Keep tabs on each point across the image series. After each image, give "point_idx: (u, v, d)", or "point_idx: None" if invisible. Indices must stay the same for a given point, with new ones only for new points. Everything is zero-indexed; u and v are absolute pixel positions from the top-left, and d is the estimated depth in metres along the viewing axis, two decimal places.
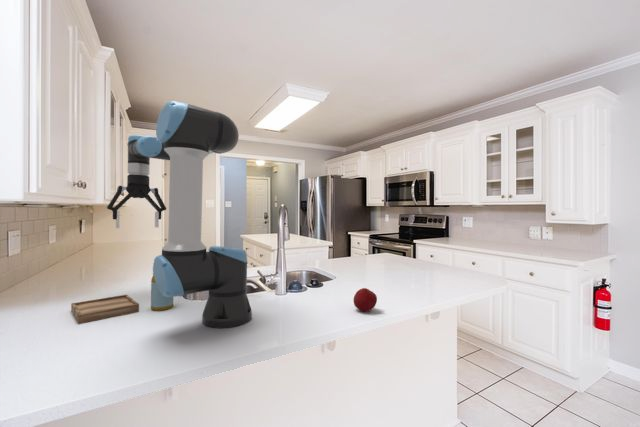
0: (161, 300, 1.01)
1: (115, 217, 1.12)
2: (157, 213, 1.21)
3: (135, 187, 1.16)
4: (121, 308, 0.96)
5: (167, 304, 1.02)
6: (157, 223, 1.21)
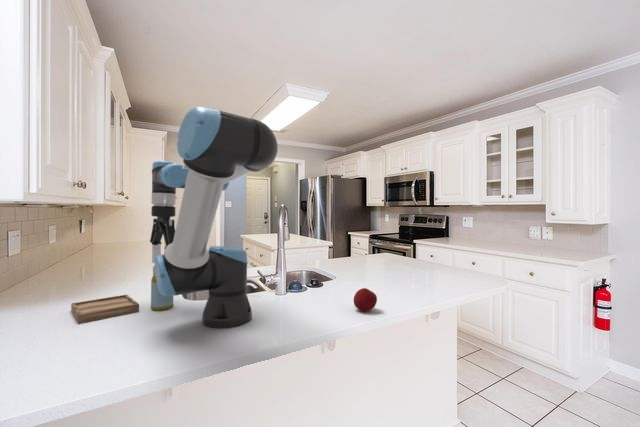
0: (161, 300, 1.01)
1: None
2: None
3: (159, 219, 1.04)
4: (121, 308, 0.96)
5: (167, 304, 1.02)
6: None
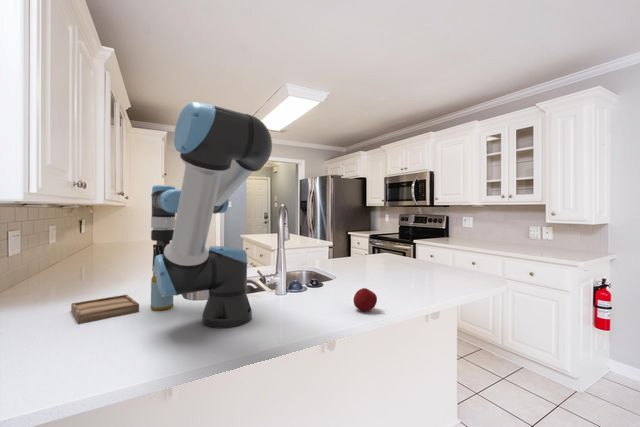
0: (161, 300, 1.01)
1: None
2: None
3: (158, 241, 1.04)
4: (121, 308, 0.96)
5: (167, 304, 1.02)
6: None
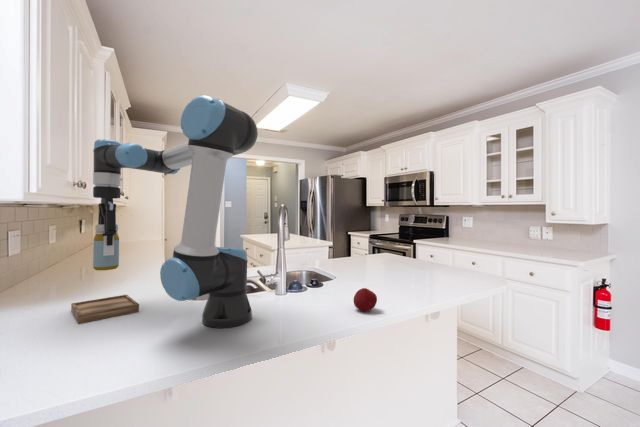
0: (104, 259, 0.96)
1: None
2: None
3: (102, 199, 1.00)
4: (121, 308, 0.96)
5: (110, 264, 0.97)
6: None
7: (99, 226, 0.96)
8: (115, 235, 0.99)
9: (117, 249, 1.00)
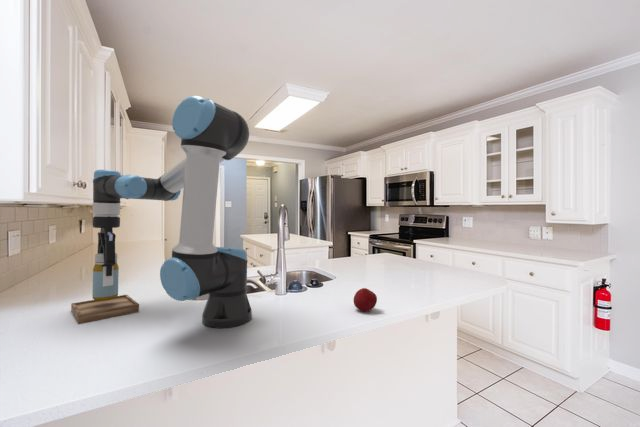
0: (103, 290, 0.96)
1: None
2: None
3: (101, 229, 1.00)
4: (121, 308, 0.96)
5: (109, 294, 0.97)
6: (103, 281, 0.96)
7: (98, 256, 0.96)
8: (114, 265, 0.99)
9: (116, 278, 1.00)
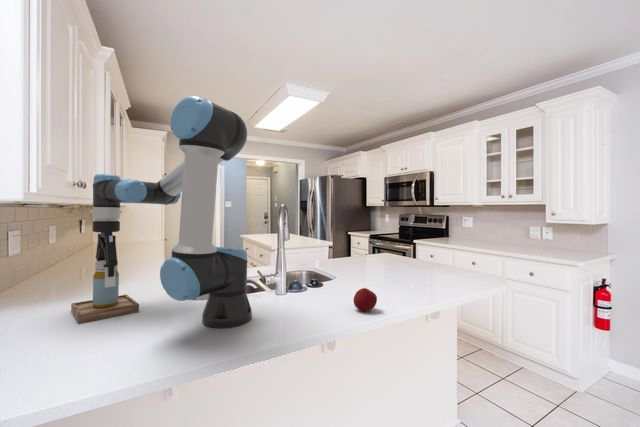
0: (103, 297, 0.96)
1: None
2: None
3: (101, 235, 0.99)
4: (121, 308, 0.96)
5: (109, 301, 0.97)
6: (105, 282, 0.94)
7: (99, 264, 0.96)
8: None
9: (117, 286, 1.00)
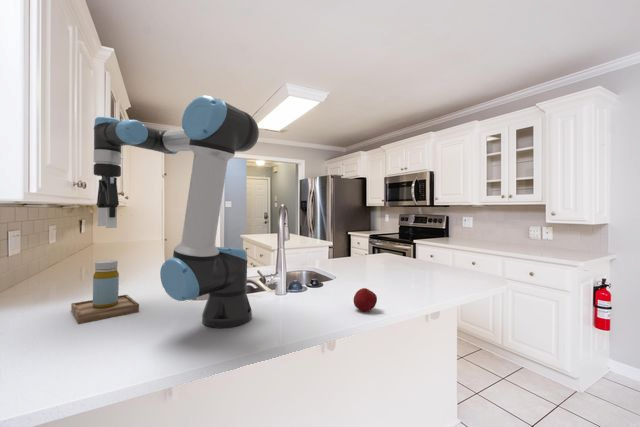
0: (103, 297, 0.96)
1: None
2: None
3: (102, 179, 0.99)
4: (121, 308, 0.96)
5: (109, 301, 0.97)
6: (106, 222, 0.94)
7: (99, 264, 0.96)
8: (115, 272, 0.99)
9: (117, 286, 1.00)
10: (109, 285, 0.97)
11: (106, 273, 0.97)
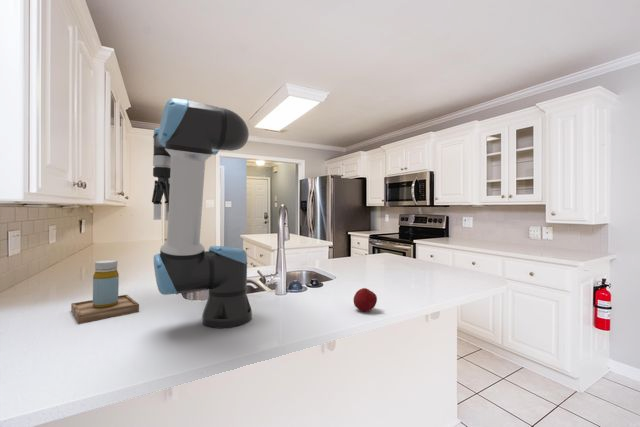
0: (103, 297, 0.96)
1: None
2: (165, 205, 1.13)
3: (159, 180, 1.19)
4: (121, 308, 0.96)
5: (109, 301, 0.97)
6: (165, 216, 1.13)
7: (98, 264, 0.96)
8: (115, 272, 0.99)
9: (117, 286, 1.00)
10: (109, 285, 0.97)
11: (106, 273, 0.97)
